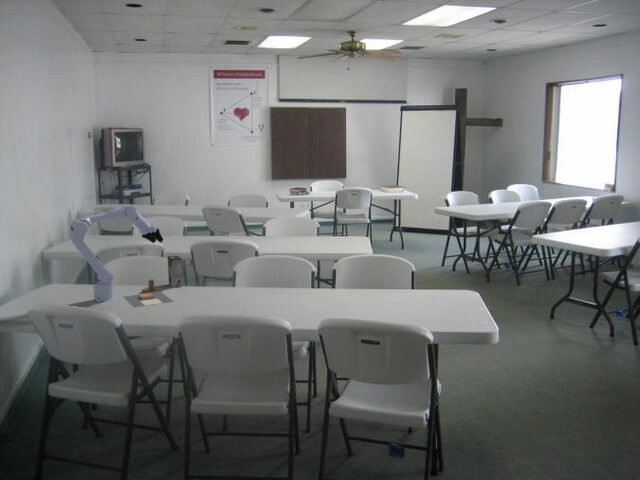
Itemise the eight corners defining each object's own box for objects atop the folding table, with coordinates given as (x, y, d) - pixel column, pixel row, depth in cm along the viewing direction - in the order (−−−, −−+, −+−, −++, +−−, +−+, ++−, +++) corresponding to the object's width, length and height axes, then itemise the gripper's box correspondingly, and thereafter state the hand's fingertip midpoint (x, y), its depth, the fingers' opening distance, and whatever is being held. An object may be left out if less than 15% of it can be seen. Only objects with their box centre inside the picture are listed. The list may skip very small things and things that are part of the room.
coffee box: (168, 284, 349) (167, 256, 346) (179, 282, 351) (178, 255, 348) (171, 287, 340) (170, 259, 338) (183, 286, 343) (182, 258, 340)
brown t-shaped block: (142, 294, 327) (142, 281, 326) (141, 293, 329) (141, 280, 328) (161, 291, 333) (160, 279, 331) (160, 290, 335) (159, 278, 333)
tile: (142, 299, 315) (141, 297, 314) (138, 297, 320) (138, 294, 319) (153, 298, 318) (153, 295, 317) (150, 295, 323) (150, 292, 322)
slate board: (134, 308, 302) (133, 307, 302) (122, 297, 320) (122, 296, 320) (173, 302, 312) (173, 301, 312) (160, 292, 331) (160, 291, 330)
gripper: (152, 217, 317) (169, 235, 324) (139, 219, 328) (156, 236, 334) (144, 226, 314) (161, 245, 320) (130, 228, 324) (148, 246, 331)
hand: (158, 241), depth 327 cm, fingers open, 7 cm apart
